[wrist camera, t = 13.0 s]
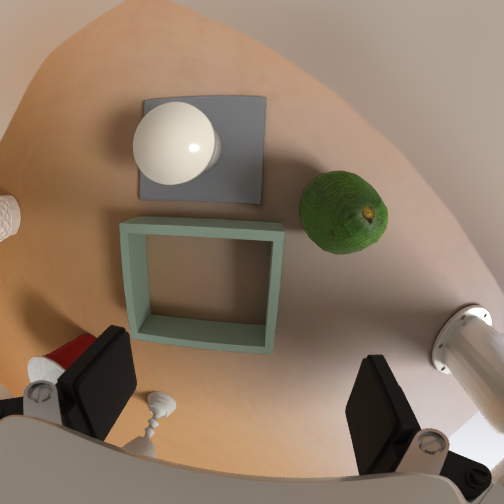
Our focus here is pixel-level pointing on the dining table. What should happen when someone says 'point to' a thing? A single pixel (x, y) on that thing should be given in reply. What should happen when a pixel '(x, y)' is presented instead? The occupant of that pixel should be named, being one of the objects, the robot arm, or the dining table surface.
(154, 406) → the chalice
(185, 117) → the white mushroom shaped cylinder
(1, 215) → the white cup
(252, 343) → the green open box
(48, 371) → the plastic cup
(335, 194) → the avocado
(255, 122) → the mat
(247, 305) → the dining table surface
